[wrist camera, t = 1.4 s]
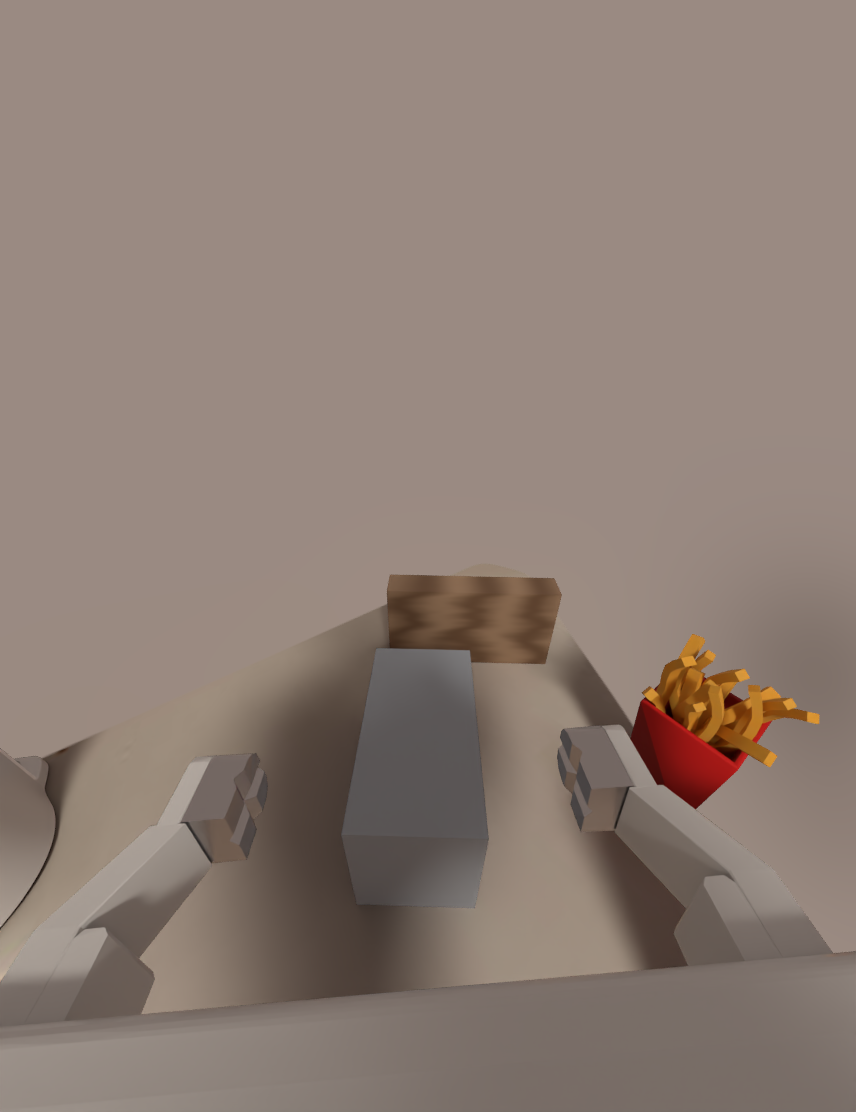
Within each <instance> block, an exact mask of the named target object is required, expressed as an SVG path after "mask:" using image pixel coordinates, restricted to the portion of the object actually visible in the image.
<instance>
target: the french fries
mask: <svg viewBox="0 0 856 1112" xmlns="http://www.w3.org/2000/svg"><path fill="white" fill-rule="evenodd" d="M704 643H705V640H704V638H702V637H700V636H697V635H695V634H692V636H691V637H690V639H689V641H688V642H687V644H686V646H685V647H684V649H683V651H682V653H681V654H680V656H679V658H678V659H677V660H673V661H671V662H670V663H668V664H666V665H665V667H664V670H663V672H662V675H661V681H660V684H659V685H658V686H657V687H656V688H655V689H653V688H651V687H650V686H649V687H648V688H647V689H646V690H644V691H643V692H642V694H643V695H645V698H644V699H643V700H642V701H641V702H640V706H639V709H638V713H637V717H636V720H635V724H634V728H633V731H632V735H631V738H630V739H631V741H632V743H633V745H634V746H635V748H636V750H637V751H638V753H639V755H640V757H641V758H642V760H643V762H644V763H645V765H646V767H647V769H648V770H649V772H650V774H651V775H652V777H653V779H654V781H655V782H656V784H657V785H664V786H665V787H667V788H668V789H669V790H671V791H672V792H673V793H674V794H676V795H677V796H678V797H680V798H681V799H682V800H684V801H685V802H686V803H688V804H689V805H690V806H691V807H693V808H694V809H696V808H698V806H700V805H701V804H702V803H703V802H704V801H705V800H706V799H707V798H708V797H709V796H710V795H711V794H713V793H714V792H715V791H716V790H717V789H718V788H719V787H720V786H721V785H722V784H723V783H724V782H726V781H727V780H728V779H729V778H730V777H731V776H732V775H733V774H734V773H735V772H736V771H737V770H738V769H739V768H740V766H741V765H742V763H743V762H744V760H745V759H746V757H747V756H748V755H750V756H751V757H753V758H755V759H756V760H758V761H760V762H762V763H763V764H765V765H766V766H768V767H770V766H771V765H772V763H773V762H774V760H775V759H776V757H777V755H775V754H774V753H772V752H771V751H769V750H768V749H766V748H764V747H762V746H761V745H759V744H757V741H758V740H759V739H760V737H761V736H762V735H763V733H764V732H765V730H766V729H767V727H768V726H769V724H770V723H771V722H772V720H776V719H780V718H784V717H785V718H794V719H799V720H803V721H807V722H811V723H815V724H819V714H816V713H811V712H807V711H802V710H798V709H793V708H795V707H796V704H795V703H794V701H793V699H792V698H780V697H781V696H780V695H779V694H778V693H777V692H776V691H775V690H774V689H773V688H772V687H766V688H764V689H762V690H761V691H760V686H758V685H748V690H749V695H750V697H749V698H747V699H745V700H744V701H743V700H741V699H740V698H738V697H737V696H735V695H733V694H732V693H730V691H731V690H732V689H733V687H734V686H735V685H736V683H737V682H741V681H743V680H746V679H749V678H750V677H749V676H748V674H747V672H746V671H745V669H738V670H730V671H726V672H722V673H719V674H716V675H713V676H710V677H708V678H707V679H706V678H705V677H704V675H705V673H703V672H701V670H702V669H703V668H704V667H706V666H707V665H709V664H710V663H711V662H713V660H714V658H715V656H716V655H715V654H714V653H712V652H710V651H709V650H707V651H706V652H704V653H703V654H702V655H701V656H699V657H698V658H697V659H696V660H695V658H696V656H697V654H698V653H699V651H700V649H701V648H702V646H703V644H704Z"/></svg>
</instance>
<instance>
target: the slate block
mask: <svg viewBox="0 0 856 1112" xmlns="http://www.w3.org/2000/svg"><path fill="white" fill-rule="evenodd" d="M341 836H342V841H343V845H344V850H345V854H346V859H347V863H348V868H349V872H350V877H351V881H352V886H353V890H354V895H355V899H356V904H360V905H391V906H423V907H454V908H475V905H476V900H477V895H478V890H479V885H480V880H481V875H482V870H483V865H484V860H485V855H486V850H487V845H488V840H489V838H488V828H487V818H486V808H485V798H484V788H483V778H482V767H481V757H480V747H479V737H478V727H477V717H476V707H475V697H474V687H473V677H472V667H471V657H470V650H434V649H393V648H376V652H375V658H374V663H373V668H372V674H371V679H370V684H369V690H368V695H367V700H366V706H365V711H364V716H363V721H362V727H361V732H360V737H359V743H358V748H357V753H356V759H355V764H354V769H353V775H352V780H351V785H350V791H349V796H348V801H347V807H346V812H345V817H344V822H343V828H342V833H341Z"/></svg>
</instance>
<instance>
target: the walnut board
mask: <svg viewBox="0 0 856 1112" xmlns="http://www.w3.org/2000/svg"><path fill="white" fill-rule="evenodd" d="M561 596H562V594H561V592H560V590H559V588H558V586H557V583H556V581H555V579H554V578H515V577H471V576H427V575H390V577H389V583H388V588H387V602H388V621H389V640H390V648H393V649H434V650H470V657H471V662H489V663H528V664H545V662H546V658H547V654H548V650H549V646H550V642H551V637H552V633H553V629H554V625H555V621H556V617H557V613H558V609H559V604H560V600H561Z"/></svg>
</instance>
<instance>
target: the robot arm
mask: <svg viewBox="0 0 856 1112" xmlns="http://www.w3.org/2000/svg"><path fill="white" fill-rule="evenodd" d="M560 739H561V741H562V744H563V745H562V746H561V747H559V748H558V755H557V759H558V768H559V772H560V776H561V779H562V782H563V784H564V787H565V788H566V789H568V790H569V791H570V792H571V793H572V799H571V807H572V809H573V812H574V815H575V818H576V820H577V823H578V826H579V828H580V831H581V832H593V831H612V830H615V833H616V834H617V835H618V836H619V838H620V839H621V840H622V841H623V842H624V843H625V844H626V845H627V846H628V847H629V848H630V849H631V850H632V851H633V853H634V854H635V855H636V856H637V857H638V858H639V859H640V860H641V861H642V862H643V863H644V864H645V865H646V866H647V868H648V869H649V870H650V871H651V872H652V873H653V874H654V875H655V876H656V877H657V878H658V879H659V880H660V881H661V883H662V884H663V885H664V886H665V887H666V888H667V889H668V890H669V891H670V892H671V893H672V894H673V895H674V896H675V898H676V899H677V900H678V901H679V902H680V903H681V904H682V905H683V906H684V907H685V908H686V910H685V912H684V914H683V915H682V917H681V919H680V920H679V922H678V924H677V926H676V928H675V931H674V936H675V938H676V940H677V942H678V945H679V947H680V949H681V951H682V953H683V956H684V958H685V960H686V962H687V965H688V966H683V967H671V968H660V969H649V970H637V971H626V972H615V973H603V974H592V975H581V976H570V977H558V978H547V979H536V980H524V981H513V982H502V983H490V984H479V985H468V986H456V987H445V988H434V989H422V990H411V991H400V992H388V993H377V994H366V995H354V996H343V997H332V998H320V999H309V1000H298V1001H286V1002H275V1003H263V1004H252V1005H241V1006H229V1007H218V1008H207V1009H195V1010H184V1011H173V1012H161V1013H150V1014H141V1013H142V1010H143V1008H144V1005H145V1003H146V1000H147V998H148V995H149V993H150V990H151V988H152V985H153V982H154V980H155V978H154V974H153V971H152V970H151V969H150V968H148V967H147V966H146V965H145V964H144V963H143V962H142V961H141V960H140V959H139V958H140V956H141V955H142V954H143V953H144V951H145V950H146V949H147V947H148V946H149V945H150V944H151V942H152V941H153V940H154V939H155V937H156V936H157V935H158V934H159V932H160V931H161V930H162V929H163V927H164V926H165V925H166V923H167V922H168V921H169V920H170V918H171V917H172V916H173V915H174V913H175V912H176V911H177V910H178V908H179V907H180V906H181V905H182V903H183V902H184V901H185V899H186V898H187V897H188V896H189V894H190V893H191V892H192V891H193V889H194V888H195V887H196V886H197V884H198V883H199V882H200V881H201V879H202V878H203V877H204V875H205V874H206V873H207V872H208V870H209V869H210V868H211V867H212V864H211V863H220V862H229V861H238V860H247V858H248V855H249V851H250V848H251V845H252V842H253V839H254V836H255V833H256V830H257V829H256V826H255V823H254V819H255V818H256V817H257V816H258V815H259V814H260V813H261V812H262V811H263V807H264V804H265V801H266V796H267V787H268V784H267V777H266V774H265V772H264V771H263V770H261V769H260V768H258V765H259V763H260V760H259V758H258V756H257V754H256V753H252V754H236V755H220V756H217V755H216V756H203V757H195V758H194V759H193V761H192V762H191V763H190V764H189V765H188V767H187V769H186V771H185V773H184V775H183V777H182V778H181V780H180V782H179V784H178V786H177V788H176V790H175V791H174V793H173V795H172V797H171V799H170V801H169V803H168V805H167V806H166V808H165V810H164V812H163V814H162V816H161V818H160V819H159V821H158V823H157V825H153V826H150V827H149V828H147V829H146V830H145V831H144V832H143V833H142V834H141V835H140V836H139V837H137V838H136V839H135V840H134V841H133V842H132V843H131V844H130V845H129V846H127V847H126V848H125V849H124V850H123V851H122V852H121V853H120V854H118V855H117V856H116V857H115V858H114V859H113V860H112V861H111V862H110V863H108V864H107V865H106V866H105V867H104V868H103V869H102V870H101V871H100V872H98V873H97V874H96V875H95V876H94V877H93V878H92V879H91V880H90V881H88V882H87V883H86V884H85V885H84V886H83V887H82V888H81V889H80V890H78V891H77V892H76V893H75V894H74V895H73V896H72V897H71V898H70V899H68V900H67V901H66V902H65V903H64V904H63V905H62V906H61V907H60V908H58V909H57V910H56V911H55V912H54V913H53V914H52V915H51V916H50V917H48V918H47V919H46V920H45V921H44V922H43V923H42V924H41V925H40V926H38V927H37V928H36V929H35V930H34V931H33V933H32V934H31V936H30V937H29V939H28V940H27V942H26V943H25V945H24V947H23V948H22V950H21V951H20V953H19V954H18V956H17V957H16V959H15V960H14V962H13V963H12V965H11V967H10V968H9V970H8V971H7V973H6V974H5V976H4V977H3V979H2V980H1V982H0V1112H856V951H853V952H842V953H833V952H832V951H831V950H830V948H829V947H828V945H827V944H826V942H825V941H824V940H823V938H822V937H821V935H820V934H819V932H818V931H817V930H816V928H815V927H814V925H813V924H812V923H811V921H810V920H809V918H808V917H807V916H806V914H805V913H804V911H803V910H802V908H801V907H800V906H799V904H798V903H797V901H796V900H795V899H794V897H793V896H792V894H791V893H790V892H789V890H788V889H787V887H786V886H785V884H784V883H783V882H782V880H781V879H780V877H779V876H778V875H777V873H776V872H775V871H774V869H773V868H771V867H770V866H769V865H767V864H766V863H765V862H764V861H762V860H761V859H760V858H758V857H757V856H756V855H754V854H753V853H752V852H750V851H749V850H748V849H746V848H745V847H744V846H742V845H741V844H740V843H739V842H737V841H736V840H735V839H733V838H732V837H731V836H729V835H728V834H727V833H726V832H724V831H723V830H722V829H720V828H719V827H718V826H716V825H715V824H714V823H712V822H711V821H710V820H709V819H707V818H706V817H705V816H703V815H702V814H701V813H699V812H698V811H697V810H695V809H694V808H693V807H691V806H690V805H689V804H688V803H686V802H685V801H684V800H682V799H681V798H680V797H678V796H677V795H676V794H674V793H673V792H672V791H671V790H669V789H668V788H667V787H665V786H664V785H657V784H656V782H655V781H654V779H653V777H652V775H651V774H650V772H649V770H648V769H647V767H646V765H645V763H644V762H643V760H642V758H641V757H640V755H639V753H638V751H637V750H636V748H635V746H634V745H633V743H632V741H631V739H630V738H629V736H628V734H627V733H626V731H625V729H624V728H623V727H622V726H621V725H618V724H616V725H606V726H599V725H598V726H588V727H577V728H567V729H563V730H562V731H561V736H560ZM47 776H48V764H47V762H45V761H44V760H43V759H41V758H40V757H38V756H31V757H23V758H17V759H13V758H12V757H11V756H9V755H8V754H7V753H6V752H4V751H3V750H2V749H1V748H0V927H1V926H2V925H3V923H4V922H5V921H6V920H7V919H8V917H9V916H10V915H11V914H12V912H13V911H14V910H15V908H16V907H17V906H18V904H19V903H20V902H21V900H22V899H23V897H24V896H25V895H26V893H27V892H28V890H29V889H30V887H31V885H32V884H33V882H34V881H35V879H36V877H37V875H38V874H39V872H40V870H41V868H42V866H43V864H44V862H45V860H46V858H47V855H48V853H49V850H50V848H51V844H52V841H53V837H54V832H55V812H54V809H53V806H52V804H51V802H50V800H49V799H48V797H47V795H46V792H45V784H46V780H47Z"/></svg>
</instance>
